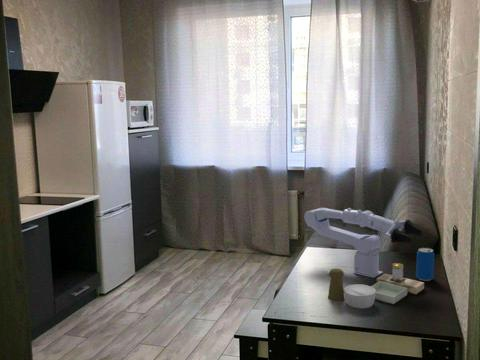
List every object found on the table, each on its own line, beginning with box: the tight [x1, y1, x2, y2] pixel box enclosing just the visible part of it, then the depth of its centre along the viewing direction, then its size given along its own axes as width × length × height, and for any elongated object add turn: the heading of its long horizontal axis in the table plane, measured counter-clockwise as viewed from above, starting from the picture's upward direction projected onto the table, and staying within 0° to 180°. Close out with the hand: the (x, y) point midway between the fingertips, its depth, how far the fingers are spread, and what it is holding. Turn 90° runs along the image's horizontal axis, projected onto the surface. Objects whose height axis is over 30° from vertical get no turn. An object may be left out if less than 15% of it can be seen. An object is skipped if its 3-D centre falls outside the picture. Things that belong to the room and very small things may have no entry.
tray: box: [370, 281, 408, 305], centre depth 190 cm, size 11×11×3 cm
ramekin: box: [343, 283, 376, 309], centre depth 183 cm, size 11×11×5 cm
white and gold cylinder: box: [391, 262, 404, 283], centre depth 198 cm, size 4×4×8 cm
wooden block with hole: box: [376, 273, 425, 295], centre depth 198 cm, size 16×7×2 cm, turn 48°
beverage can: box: [415, 247, 435, 282], centre depth 205 cm, size 6×6×12 cm
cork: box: [327, 268, 346, 302], centre depth 188 cm, size 6×6×11 cm
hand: (416, 236), depth 196 cm, fingers open, 7 cm apart
